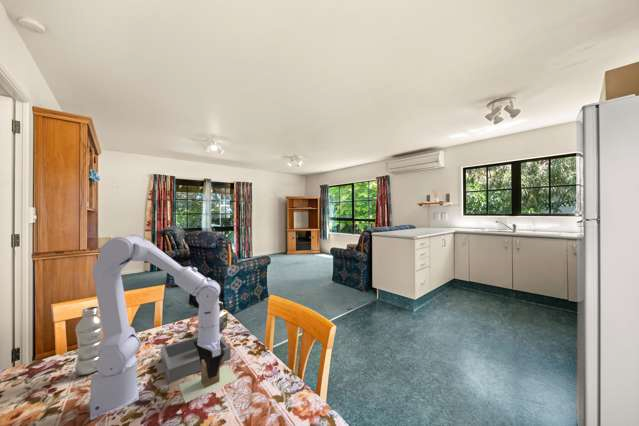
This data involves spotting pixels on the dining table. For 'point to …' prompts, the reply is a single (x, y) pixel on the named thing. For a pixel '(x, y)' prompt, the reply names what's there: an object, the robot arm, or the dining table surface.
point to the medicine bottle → (222, 318)
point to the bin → (185, 358)
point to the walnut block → (204, 375)
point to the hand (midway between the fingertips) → (208, 370)
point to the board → (197, 389)
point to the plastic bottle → (88, 341)
